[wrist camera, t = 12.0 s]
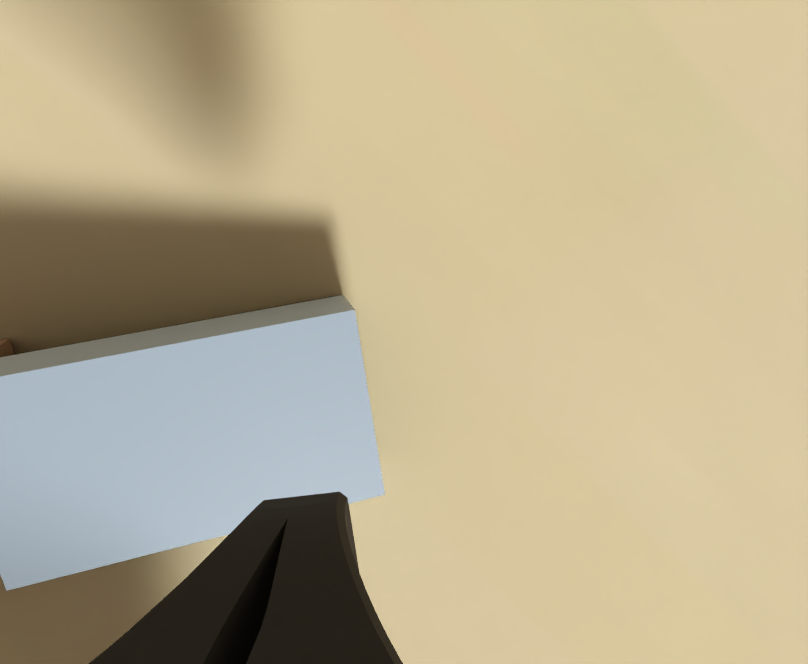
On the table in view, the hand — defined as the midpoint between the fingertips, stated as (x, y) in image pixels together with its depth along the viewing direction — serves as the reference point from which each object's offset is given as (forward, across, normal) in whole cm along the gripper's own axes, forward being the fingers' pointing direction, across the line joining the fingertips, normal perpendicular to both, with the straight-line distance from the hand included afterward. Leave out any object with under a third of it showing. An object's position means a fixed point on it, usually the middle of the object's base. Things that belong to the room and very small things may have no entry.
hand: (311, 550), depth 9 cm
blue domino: (+6, -1, 0) cm, 6 cm away
